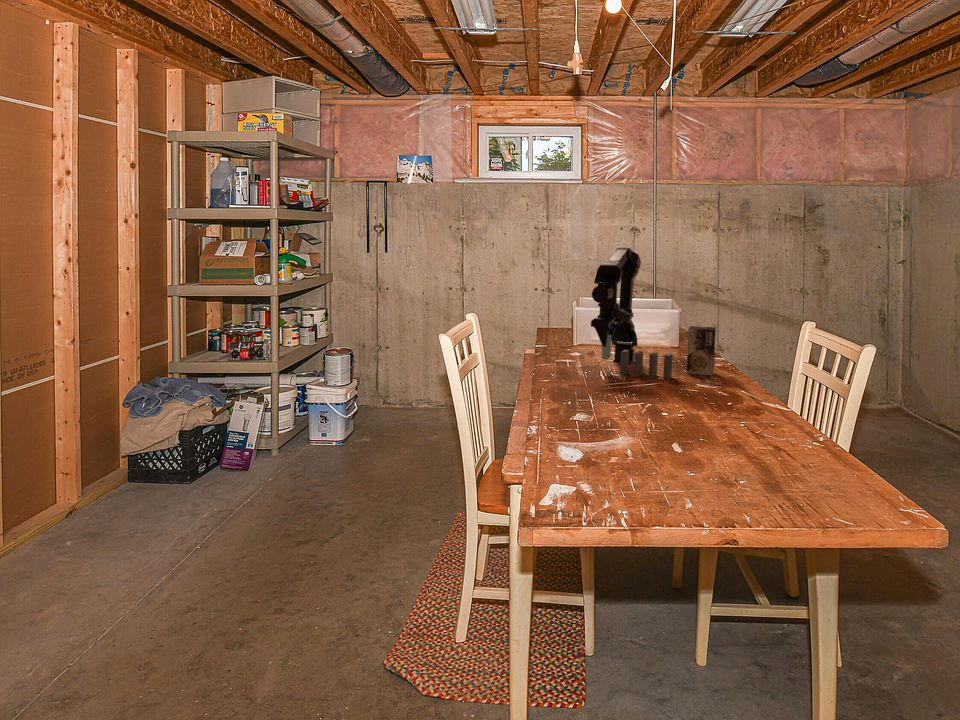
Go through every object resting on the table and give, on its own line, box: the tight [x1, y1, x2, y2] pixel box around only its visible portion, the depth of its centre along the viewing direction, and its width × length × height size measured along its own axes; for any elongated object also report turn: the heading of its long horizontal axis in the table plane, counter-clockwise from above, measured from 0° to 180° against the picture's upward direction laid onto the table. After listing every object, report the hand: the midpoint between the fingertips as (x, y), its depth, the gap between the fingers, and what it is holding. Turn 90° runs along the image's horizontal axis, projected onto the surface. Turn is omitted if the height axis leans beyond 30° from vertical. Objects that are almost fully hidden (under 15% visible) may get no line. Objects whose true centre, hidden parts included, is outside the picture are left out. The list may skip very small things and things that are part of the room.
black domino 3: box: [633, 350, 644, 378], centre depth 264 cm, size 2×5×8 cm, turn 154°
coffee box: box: [685, 326, 717, 376], centre depth 268 cm, size 9×6×16 cm
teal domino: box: [601, 334, 612, 360], centre depth 269 cm, size 2×5×8 cm, turn 154°
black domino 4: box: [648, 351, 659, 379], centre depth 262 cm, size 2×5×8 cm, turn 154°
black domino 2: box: [619, 350, 630, 376], centre depth 267 cm, size 2×5×8 cm, turn 154°
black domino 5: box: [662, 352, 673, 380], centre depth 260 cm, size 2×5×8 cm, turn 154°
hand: (606, 345), depth 269 cm, fingers closed on teal domino, 5 cm apart
